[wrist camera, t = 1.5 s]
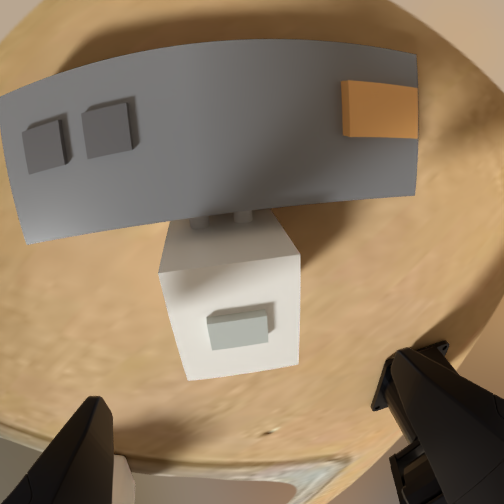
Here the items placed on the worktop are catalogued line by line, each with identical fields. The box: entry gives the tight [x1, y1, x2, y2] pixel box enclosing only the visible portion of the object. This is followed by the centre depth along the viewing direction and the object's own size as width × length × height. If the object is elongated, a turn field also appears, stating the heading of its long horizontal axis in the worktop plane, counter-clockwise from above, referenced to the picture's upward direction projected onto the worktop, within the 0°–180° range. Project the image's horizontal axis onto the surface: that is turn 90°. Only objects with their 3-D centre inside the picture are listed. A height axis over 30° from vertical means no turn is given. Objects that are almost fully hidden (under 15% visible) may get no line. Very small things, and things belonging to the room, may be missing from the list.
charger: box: [158, 208, 300, 381], centre depth 12 cm, size 8×4×6 cm, turn 4°
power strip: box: [0, 39, 419, 245], centre depth 11 cm, size 6×16×4 cm, turn 94°
